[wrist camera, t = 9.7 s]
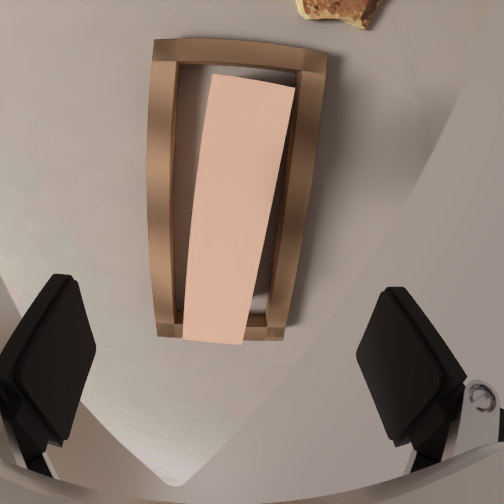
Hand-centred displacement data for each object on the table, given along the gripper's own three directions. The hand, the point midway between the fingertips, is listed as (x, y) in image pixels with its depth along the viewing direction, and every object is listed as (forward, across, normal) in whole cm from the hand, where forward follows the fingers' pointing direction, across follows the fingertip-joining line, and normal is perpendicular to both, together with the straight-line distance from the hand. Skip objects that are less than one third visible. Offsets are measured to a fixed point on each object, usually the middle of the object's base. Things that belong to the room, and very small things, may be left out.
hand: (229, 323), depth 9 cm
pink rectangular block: (+14, 0, +1) cm, 14 cm away
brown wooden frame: (+13, 0, +1) cm, 13 cm away
